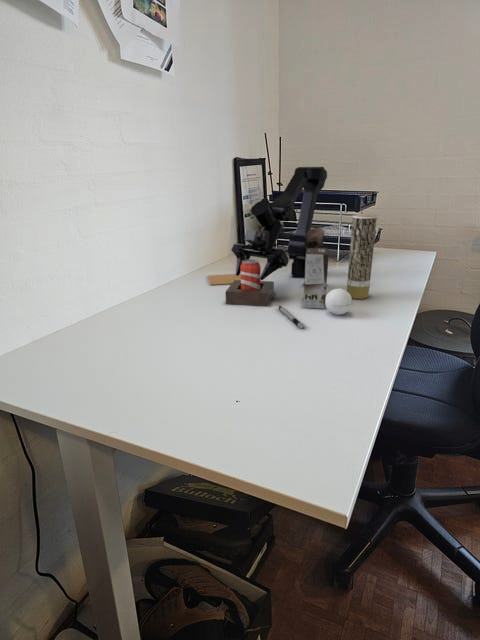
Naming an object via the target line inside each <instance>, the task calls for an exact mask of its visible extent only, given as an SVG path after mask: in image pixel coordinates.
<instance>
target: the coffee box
mask: <svg viewBox="0 0 480 640" xmlns="http://www.w3.org/2000/svg"><path fill="white" fill-rule="evenodd" d="M329 255H330V254H329V248H328V247H323V248H307V251H306V261H305V277H304V282H305V284H304V283H303V285H304V286H303V306H302V307H303V308H306V309H323V310H324V309H325V308H326V305H325V299H326V296H327V284H328V270H329Z"/></svg>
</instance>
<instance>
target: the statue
mask: <svg viewBox="0 0 480 640" xmlns="http://www.w3.org/2000/svg"><path fill="white" fill-rule="evenodd" d="M324 237H325V231H324V229H323V228H321V227H316V228H311V230H310V231H309V232H308V236H307V241H306V247H305V248H306V251H307V248H324ZM304 284H305V281H304V282H303V285H302V286H303V287H304Z"/></svg>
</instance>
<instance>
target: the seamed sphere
mask: <svg viewBox="0 0 480 640" xmlns="http://www.w3.org/2000/svg"><path fill="white" fill-rule="evenodd" d="M361 301H362V299H356V302H361ZM352 306H353V298H351V295H350V294H349V293H348V292H347V289H344V288H339V287H337V288H334V289H331V290H330V291H328V293H326V298H325V308H326V310H328V311H329V312H330V313H331V314H333V315H336V316H340V315H344V314H346V313H348V312H349V311H350V309H351V308H352Z"/></svg>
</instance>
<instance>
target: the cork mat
mask: <svg viewBox="0 0 480 640" xmlns="http://www.w3.org/2000/svg"><path fill="white" fill-rule="evenodd" d="M208 280H209V283H210V286H224V285H231V284H232V283H233V282H234V280H241V273H240V274H239V276H237V275H236V273H231V274H229V273H228V274H214V275H208Z"/></svg>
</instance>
